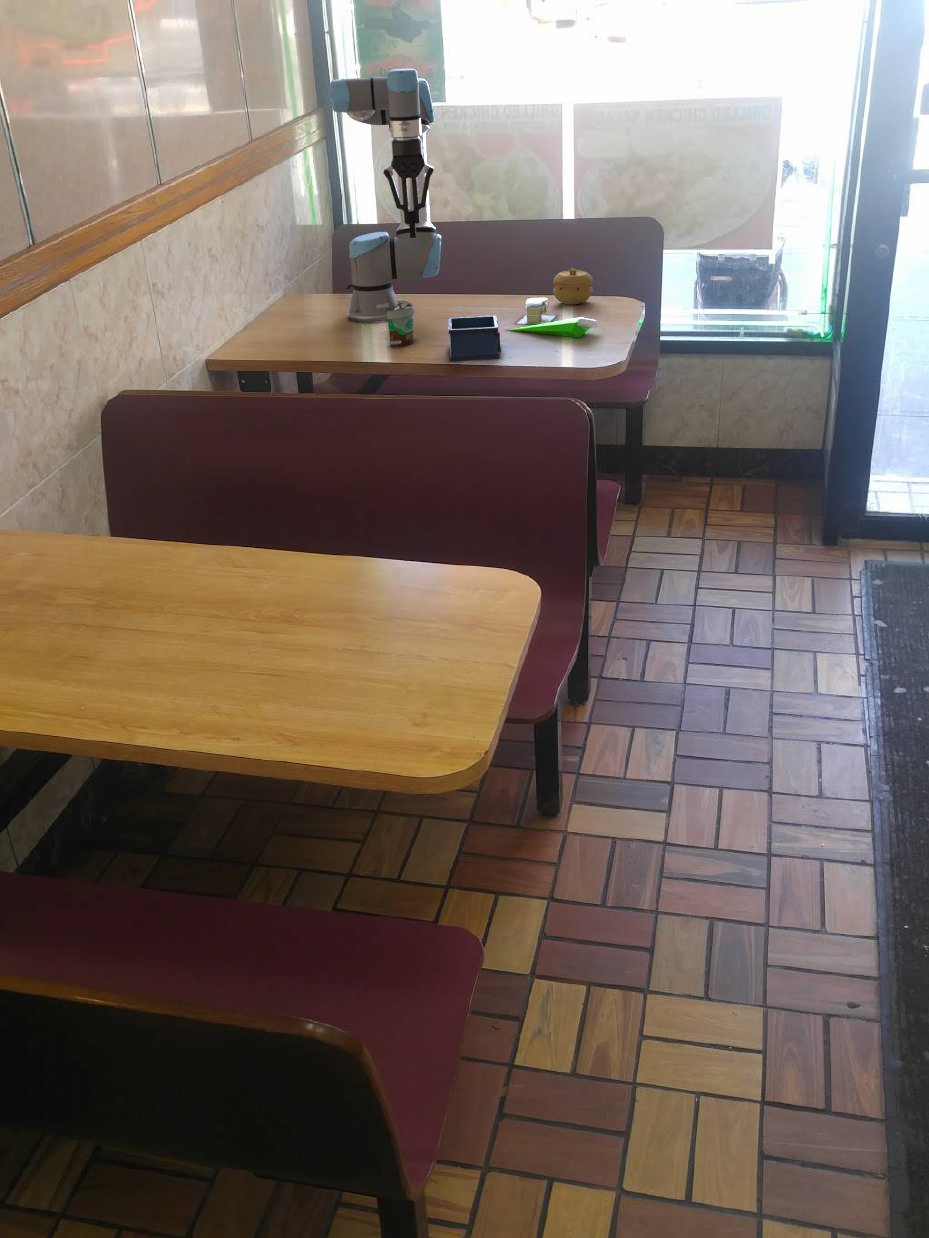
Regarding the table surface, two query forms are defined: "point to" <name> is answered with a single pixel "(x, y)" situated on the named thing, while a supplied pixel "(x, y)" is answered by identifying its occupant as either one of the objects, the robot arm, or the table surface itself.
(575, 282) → the pot
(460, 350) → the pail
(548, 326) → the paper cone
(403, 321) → the food container
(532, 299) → the stacked layers on plate
